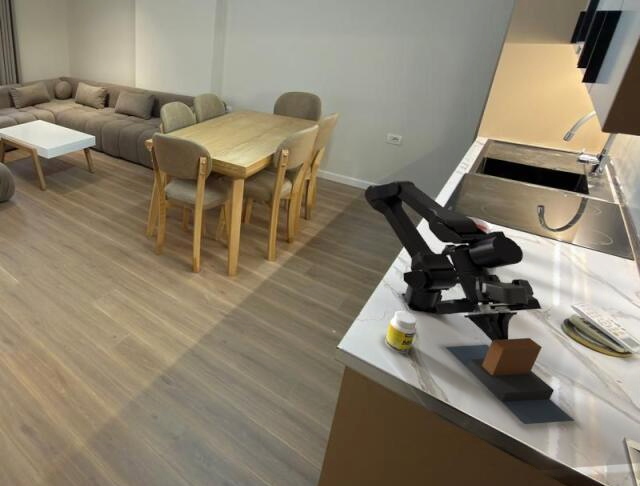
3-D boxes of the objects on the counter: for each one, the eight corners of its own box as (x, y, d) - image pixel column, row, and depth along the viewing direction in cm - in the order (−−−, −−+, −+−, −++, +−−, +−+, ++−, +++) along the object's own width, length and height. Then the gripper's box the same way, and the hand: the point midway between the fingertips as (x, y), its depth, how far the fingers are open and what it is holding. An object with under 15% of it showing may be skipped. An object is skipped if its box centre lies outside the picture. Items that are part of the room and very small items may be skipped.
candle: (477, 234, 135) (482, 218, 133) (493, 248, 127) (499, 231, 125) (447, 231, 137) (452, 215, 135) (461, 245, 129) (467, 228, 127)
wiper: (466, 367, 84) (479, 333, 81) (510, 364, 85) (525, 330, 81) (501, 402, 77) (517, 365, 73) (549, 398, 77) (568, 362, 74)
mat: (444, 348, 90) (445, 346, 89) (486, 346, 90) (486, 344, 90) (523, 425, 73) (524, 423, 73) (573, 422, 73) (574, 420, 73)
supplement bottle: (401, 357, 87) (410, 327, 85) (380, 342, 91) (388, 313, 88) (413, 349, 90) (423, 320, 87) (392, 335, 93) (400, 306, 91)
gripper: (461, 268, 80) (495, 353, 73) (548, 263, 81) (589, 347, 74) (422, 276, 90) (449, 352, 83) (500, 272, 91) (532, 347, 84)
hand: (504, 349), depth 81 cm, fingers closed, pressing on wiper
